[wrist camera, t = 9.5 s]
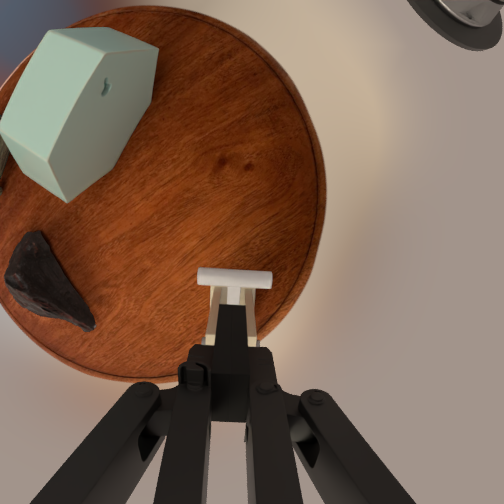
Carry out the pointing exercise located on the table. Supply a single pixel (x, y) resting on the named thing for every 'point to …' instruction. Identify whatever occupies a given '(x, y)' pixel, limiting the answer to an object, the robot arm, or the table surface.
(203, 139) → the table surface
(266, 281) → the faucet handle
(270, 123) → the table surface
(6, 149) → the tabletop clock
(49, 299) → the rock
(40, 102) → the planter
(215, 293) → the faucet bracket
